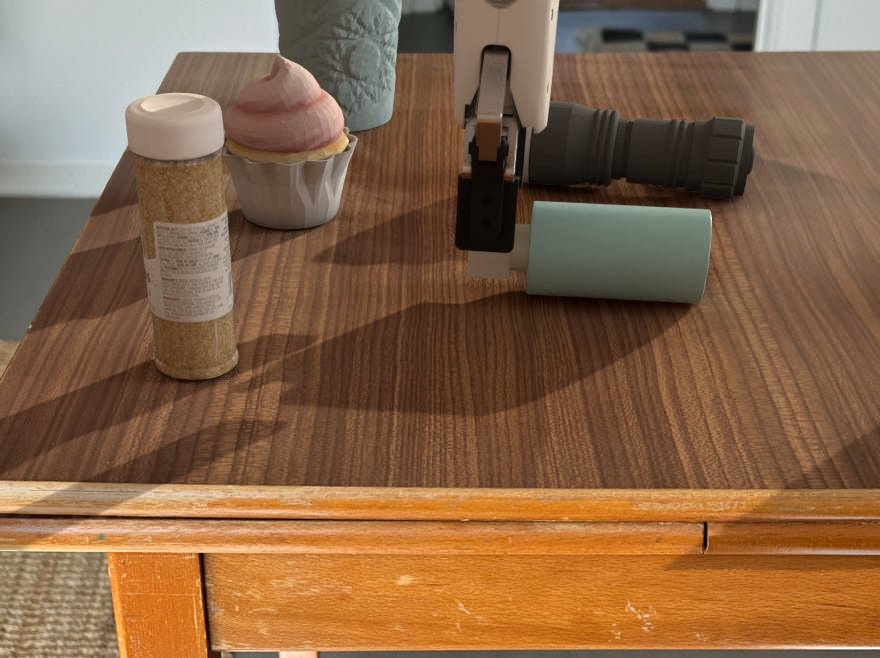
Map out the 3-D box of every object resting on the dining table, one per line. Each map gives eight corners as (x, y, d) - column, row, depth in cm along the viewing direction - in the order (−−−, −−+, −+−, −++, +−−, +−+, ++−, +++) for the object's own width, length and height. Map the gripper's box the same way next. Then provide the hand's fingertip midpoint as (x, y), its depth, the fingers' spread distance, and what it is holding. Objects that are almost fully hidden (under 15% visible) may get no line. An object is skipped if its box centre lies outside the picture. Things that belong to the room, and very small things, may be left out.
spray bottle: (695, 282, 79) (708, 196, 76) (700, 318, 75) (714, 229, 72) (471, 269, 81) (474, 184, 77) (464, 305, 77) (467, 217, 73)
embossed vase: (301, 91, 109) (296, -71, 102) (419, 102, 107) (422, -62, 100) (258, 129, 102) (249, -44, 94) (385, 141, 100) (385, -34, 92)
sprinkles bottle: (163, 344, 72) (134, 88, 64) (246, 346, 72) (228, 90, 64) (147, 383, 69) (114, 117, 60) (234, 385, 69) (213, 119, 60)
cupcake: (219, 191, 91) (206, 36, 85) (354, 187, 92) (351, 33, 86) (217, 243, 84) (204, 77, 77) (364, 238, 84) (362, 74, 78)
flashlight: (747, 185, 93) (761, 105, 89) (746, 213, 89) (761, 130, 85) (530, 167, 95) (535, 89, 92) (519, 193, 91) (525, 112, 88)
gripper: (587, -88, 58) (551, 282, 69) (589, -147, 72) (558, 170, 82) (417, -96, 59) (407, 272, 69) (451, -153, 72) (439, 163, 83)
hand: (489, 217), depth 76 cm, fingers open, 9 cm apart
